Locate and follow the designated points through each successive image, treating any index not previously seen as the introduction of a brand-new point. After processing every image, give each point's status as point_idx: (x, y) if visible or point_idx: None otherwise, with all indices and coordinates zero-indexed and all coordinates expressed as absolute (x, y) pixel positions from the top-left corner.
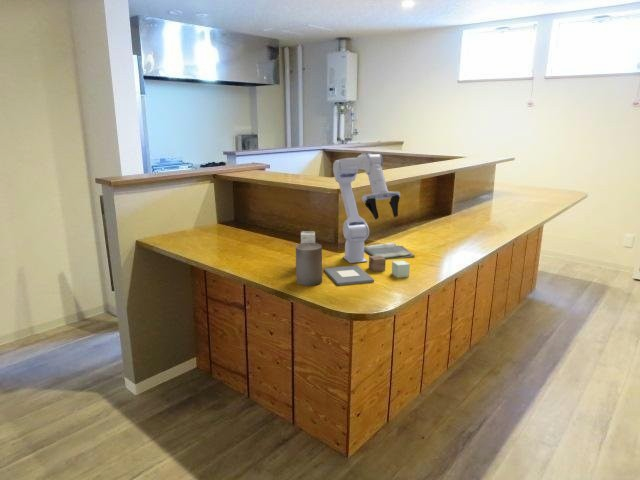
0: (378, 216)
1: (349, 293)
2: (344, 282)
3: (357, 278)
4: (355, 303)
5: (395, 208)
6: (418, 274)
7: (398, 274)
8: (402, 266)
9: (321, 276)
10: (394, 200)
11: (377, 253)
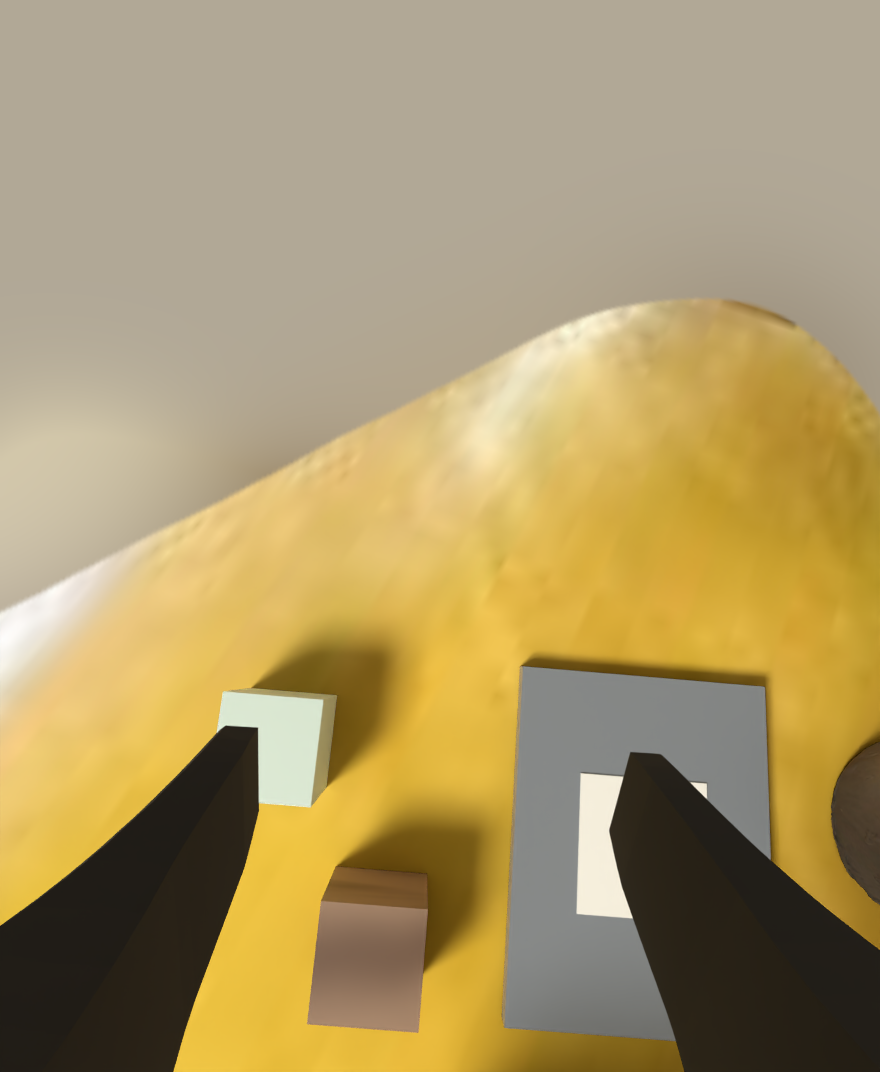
0: (637, 756)
1: (727, 546)
2: (721, 683)
3: (617, 723)
4: (740, 414)
5: (201, 822)
6: (167, 702)
7: (325, 695)
8: (287, 695)
9: (875, 774)
10: (89, 1004)
11: None
